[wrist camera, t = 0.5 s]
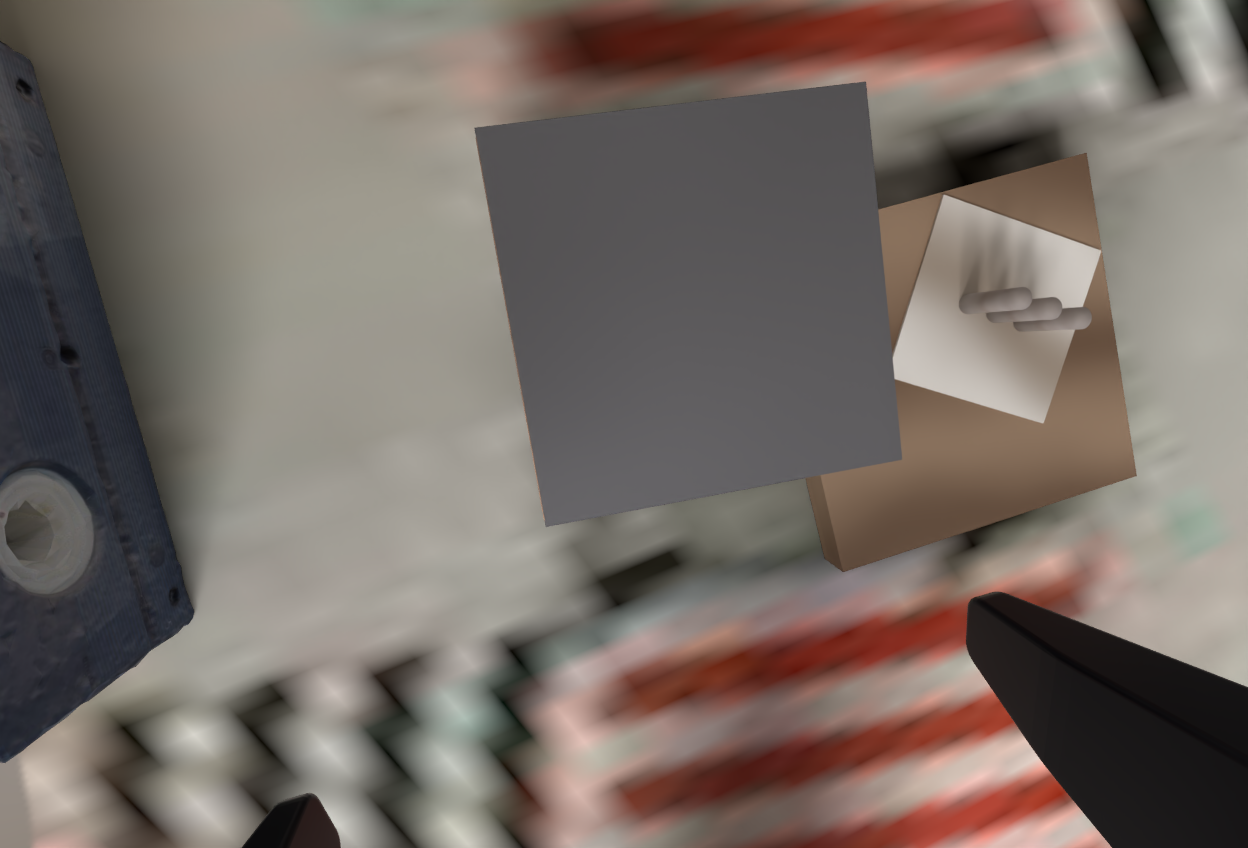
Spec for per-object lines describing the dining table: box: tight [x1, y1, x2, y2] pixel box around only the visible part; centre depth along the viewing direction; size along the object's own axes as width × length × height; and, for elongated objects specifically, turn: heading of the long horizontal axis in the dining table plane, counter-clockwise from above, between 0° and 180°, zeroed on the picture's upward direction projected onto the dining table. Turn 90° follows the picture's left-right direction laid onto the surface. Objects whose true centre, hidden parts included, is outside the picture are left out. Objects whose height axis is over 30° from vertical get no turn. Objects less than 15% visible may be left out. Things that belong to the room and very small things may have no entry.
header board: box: [806, 153, 1137, 572], centre depth 22 cm, size 12×12×4 cm
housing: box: [475, 82, 902, 527], centre depth 16 cm, size 6×6×12 cm
